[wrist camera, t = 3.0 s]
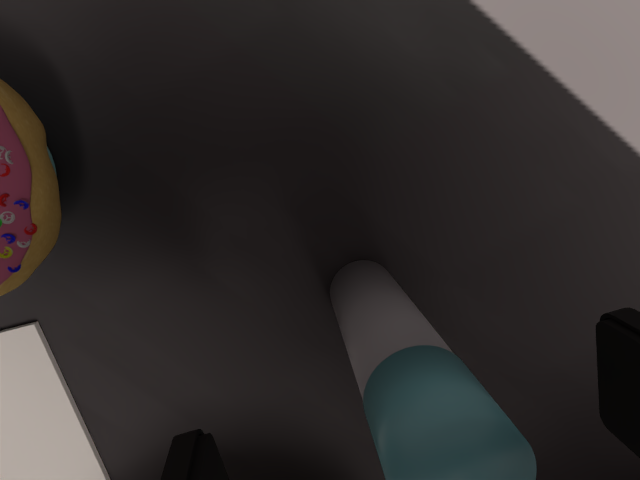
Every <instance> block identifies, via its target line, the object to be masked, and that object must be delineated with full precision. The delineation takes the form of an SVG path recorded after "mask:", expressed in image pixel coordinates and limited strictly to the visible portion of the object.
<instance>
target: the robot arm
mask: <svg viewBox="0 0 640 480" xmlns="http://www.w3.org/2000/svg"><path fill="white" fill-rule="evenodd" d="M596 346H597V367H598V389H599V411H600V417H601V419H602V421H603V423H604V425H605V426H606V428H607V429H608V430H609V431H610V432H611V433H613V434H614V435H615V436H616V437H617V438H618V439H619V440H620V441H621V442H623V443H624V444H625V445H626V446H627V447H628V448H629V449H630V450H632V451H633V452H634V453H635V454H636V455H637V456H638V457H639V458H640V312H639V311H637V310H635V309H632V308H623V309H619V310H616V311H612V312H609V313H605V314H603V315H602V316H601V318H600V322H598V323H597V325H596ZM161 480H229V478H228V475H227V473H226V470H225V467H224V465H223V462H222V459H221V457H220V454H219V452H218V449H217V446H216V444H215V441H214V438H213V436H212V435H211V433H208V434H204V433H203V431H202V430H201V429H197V430H194V431H190V432H187V433H183V434H180V435H176V436H175V437H174V438H173V440H172V444H171V447H170V450H169V454H168V457H167V461H166V464H165V467H164V471H163V474H162V478H161Z"/></svg>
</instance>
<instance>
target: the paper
mask: <svg viewBox="0 0 640 480" xmlns="http://www.w3.org/2000/svg"><path fill="white" fill-rule="evenodd" d="M0 480H111V479H110V477H109V475H108V473H107V471H106V468H105V466H104V464H103V462H102V460H101V457H100V455H99V453H98V451H97V449H96V447H95V444H94V442H93V440H92V438H91V436H90V434H89V431H88V429H87V427H86V425H85V423H84V420H83V418H82V416H81V414H80V412H79V410H78V407H77V405H76V403H75V401H74V399H73V397H72V394H71V392H70V390H69V388H68V386H67V384H66V381H65V379H64V377H63V375H62V373H61V370H60V368H59V366H58V364H57V362H56V360H55V357H54V355H53V353H52V351H51V349H50V347H49V344H48V342H47V340H46V338H45V336H44V333H43V331H42V329H41V327H40V325H39V323H38V321H36V322H33V323H29V324H25V325H21V326H17V327H13V328H9V329H6V330H2V331H0Z"/></svg>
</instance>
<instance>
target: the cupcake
mask: <svg viewBox="0 0 640 480" xmlns="http://www.w3.org/2000/svg"><path fill="white" fill-rule="evenodd" d="M60 225H61V206H60V198H59V186H58V180H57V174H56V167H55V163H54V160H53V157H52V155H51V153H50V151H49V149H48V147H47V144H46V133H45V129H44V126H43V124H42V123H41V121H40V120H39V118H38V117H37V115H36V114H35V113H34V111H33V110H32V109H31V107H30V106H29V105H28V103H27V102H26V101H25V100H24V99H23V98H22V97H21V96H20V95H19V94H18V93H17V92H16V91H15V90H14V89H13V88H11V87H10V86H9V85H8V84H7V83H5V82H4V81H3V80H1V79H0V296H2V295H4V294H6V293H8V292H10V291H12V290H14V289H15V288H17V287H18V286H20V285H21V284H22V283H24V282H25V281H26V280H27V279H28V278H29V277H30V276H31V275H32V273H33V272H34V270H35V269H36V268H37V267H38V266H39V265H40V264H41V263H42V262H43V260H44V259H45V258H46V257H47V255H48V254H49V253H50V251H51V250H52V249H53V247H54V245H55V244H56V241H57V238H58V235H59V231H60Z"/></svg>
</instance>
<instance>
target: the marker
mask: <svg viewBox="0 0 640 480" xmlns="http://www.w3.org/2000/svg"><path fill="white" fill-rule="evenodd" d="M330 300H331V303H332V306H333V309H334V312H335V315H336V318H337V321H338V325H339V328H340V331H341V334H342V337H343V340H344V343H345V346H346V350H347V353H348V356H349V359H350V362H351V365H352V368H353V371H354V375H355V378H356V381H357V384H358V387H359V390H360V393H361V396H362V400H363V406H364V412H365V415H366V418H367V421H368V425H369V428H370V431H371V434H372V437H373V441H374V444H375V447H376V450H377V453H378V456H379V460H380V463H381V466H382V469H383V472H384V476H385V479H386V480H536V473H537V467H536V459H535V455H534V453H533V450H532V448H531V446H530V444H529V443H528V441H527V440H526V439H525V438H524V436H523V435H522V434H521V433H520V431H519V430H518V429H517V428H516V426H515V425H514V424H513V423H512V422H511V420H510V419H509V418H508V417H507V415H506V414H505V413H504V412H503V410H502V409H501V408H500V407H499V406H498V404H497V403H496V402H495V401H494V399H493V398H492V397H491V396H490V394H489V393H488V392H487V391H486V390H485V388H484V387H483V386H482V385H481V383H480V382H479V381H478V380H477V378H476V377H475V376H474V375H473V374H472V372H471V371H470V370H469V369H468V367H467V366H466V365H465V364H464V363H463V361H462V360H461V359H460V358H459V357H458V356H456V355H455V354H454V353H453V352H452V350H451V349H450V348H449V347H448V345H447V344H446V343H445V342H444V340H443V339H442V338H441V337H440V335H439V334H438V333H437V332H436V330H435V329H434V328H433V327H432V326H431V324H430V323H429V322H428V321H427V319H426V318H425V317H424V316H423V314H422V313H421V312H420V311H419V309H418V308H417V307H416V306H415V304H414V303H413V302H412V301H411V299H410V298H409V297H408V296H407V294H406V293H405V292H404V291H403V289H402V288H401V287H400V286H399V284H398V283H397V282H396V281H395V279H394V278H393V277H392V276H391V274H390V273H389V272H388V271H387V270H386V269H385V268H384V267H383V266H382V265H380V264H378V263H376V262H374V261H369V260H358V261H354V262H351V263H349V264H347V265H345V266H344V267H342V268H341V269H340V270H339V271H338V272H337V273H336V275H335V276H334V278H333V280H332V282H331V286H330Z"/></svg>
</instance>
